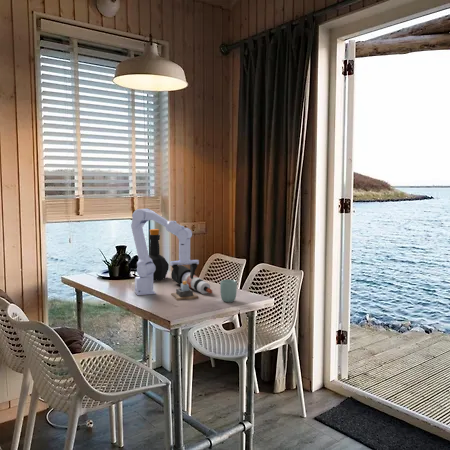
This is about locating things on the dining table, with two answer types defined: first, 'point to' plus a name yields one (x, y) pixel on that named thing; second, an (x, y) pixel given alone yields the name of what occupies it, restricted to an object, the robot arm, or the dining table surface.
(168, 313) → the dining table surface
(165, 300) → the dining table surface
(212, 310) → the dining table surface
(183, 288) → the connector
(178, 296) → the holder
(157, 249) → the bottle
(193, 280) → the cable
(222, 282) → the cup
